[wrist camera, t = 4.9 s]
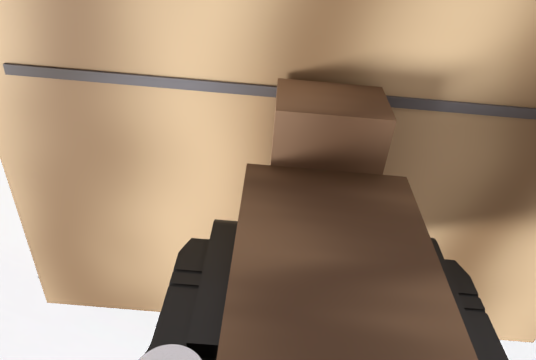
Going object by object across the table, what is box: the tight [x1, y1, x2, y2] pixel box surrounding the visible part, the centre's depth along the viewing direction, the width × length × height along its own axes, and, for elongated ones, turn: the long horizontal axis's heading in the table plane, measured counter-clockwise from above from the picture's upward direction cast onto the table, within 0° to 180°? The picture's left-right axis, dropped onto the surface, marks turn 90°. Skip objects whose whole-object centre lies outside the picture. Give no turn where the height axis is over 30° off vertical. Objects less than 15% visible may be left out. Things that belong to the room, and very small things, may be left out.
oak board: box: [0, 0, 536, 342], centre depth 15 cm, size 20×14×3 cm
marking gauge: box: [216, 78, 478, 360], centre depth 13 cm, size 4×13×11 cm, turn 176°
